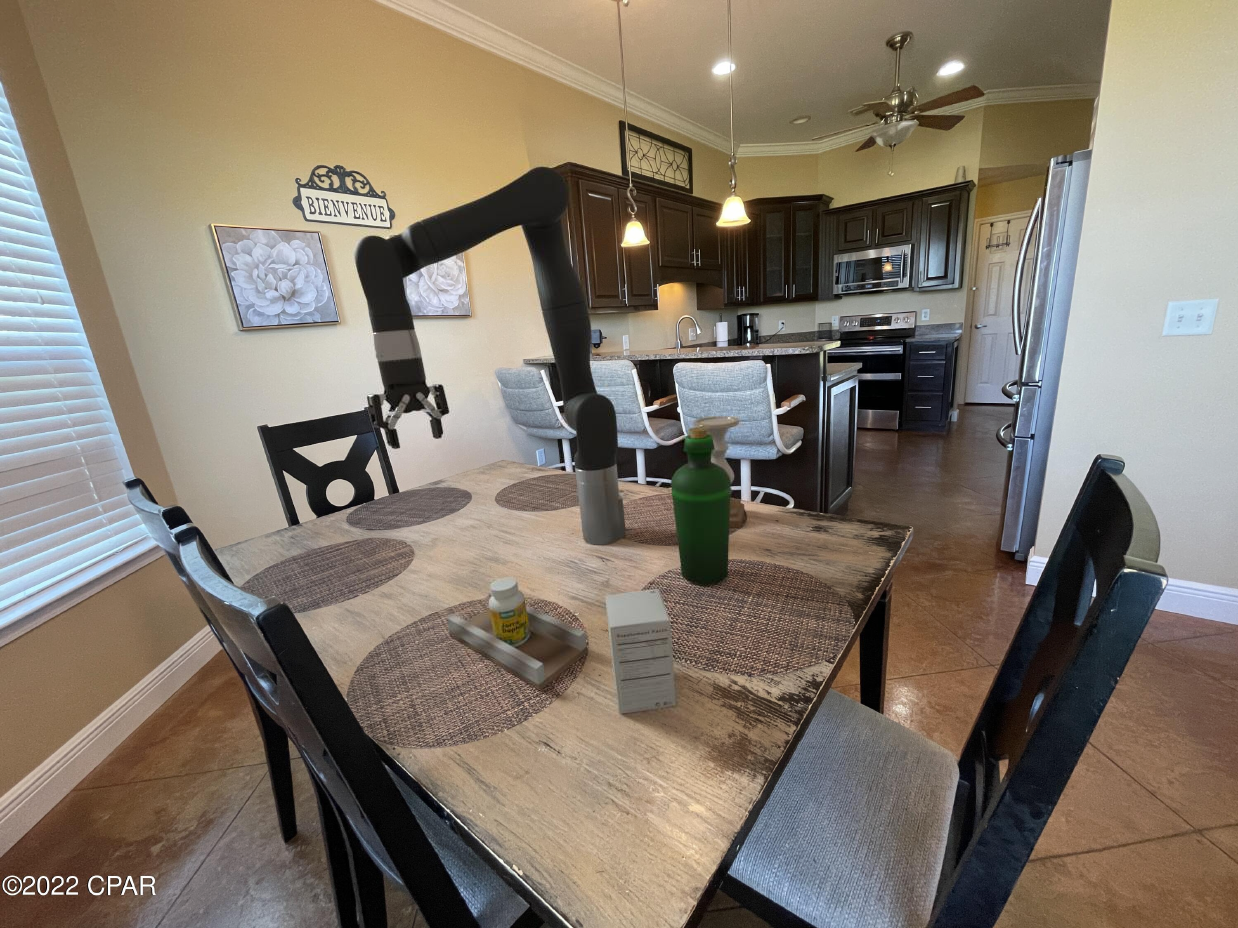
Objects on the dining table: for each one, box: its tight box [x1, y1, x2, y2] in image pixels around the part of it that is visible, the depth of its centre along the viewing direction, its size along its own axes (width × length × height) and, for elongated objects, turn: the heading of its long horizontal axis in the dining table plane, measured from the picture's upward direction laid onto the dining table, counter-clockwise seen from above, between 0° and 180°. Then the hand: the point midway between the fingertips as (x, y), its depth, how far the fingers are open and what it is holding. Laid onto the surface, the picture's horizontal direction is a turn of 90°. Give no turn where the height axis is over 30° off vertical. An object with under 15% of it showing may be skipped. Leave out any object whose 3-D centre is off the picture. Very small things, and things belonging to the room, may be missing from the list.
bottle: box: [670, 426, 732, 586], centre depth 85 cm, size 11×11×28 cm
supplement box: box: [605, 588, 677, 715], centre depth 61 cm, size 7×7×13 cm
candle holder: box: [693, 416, 745, 529], centre depth 111 cm, size 11×11×24 cm
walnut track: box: [446, 592, 588, 692], centre depth 74 cm, size 22×9×4 cm, turn 50°
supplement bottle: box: [488, 576, 530, 647], centre depth 73 cm, size 5×5×10 cm
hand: (417, 443), depth 92 cm, fingers open, 8 cm apart
